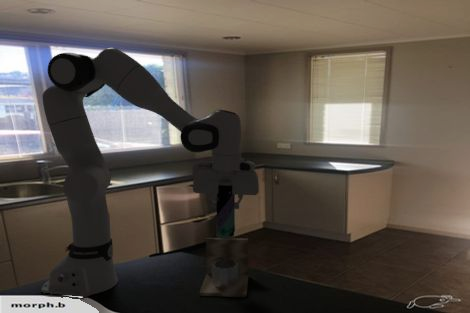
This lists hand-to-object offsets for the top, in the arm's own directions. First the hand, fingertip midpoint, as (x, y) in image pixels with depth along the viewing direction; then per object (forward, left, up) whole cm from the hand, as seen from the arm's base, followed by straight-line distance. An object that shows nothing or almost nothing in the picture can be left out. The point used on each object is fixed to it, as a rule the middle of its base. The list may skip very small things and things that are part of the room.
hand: (225, 208), depth 109 cm
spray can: (0, 0, -9) cm, 9 cm away
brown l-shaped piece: (0, 0, -25) cm, 25 cm away
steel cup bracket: (0, +1, -24) cm, 24 cm away
